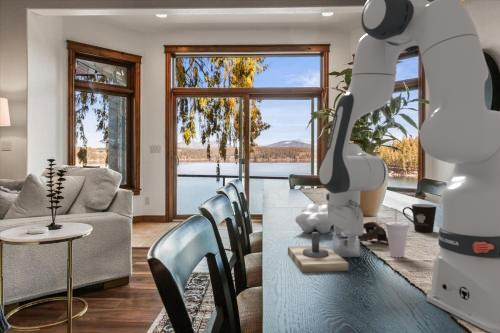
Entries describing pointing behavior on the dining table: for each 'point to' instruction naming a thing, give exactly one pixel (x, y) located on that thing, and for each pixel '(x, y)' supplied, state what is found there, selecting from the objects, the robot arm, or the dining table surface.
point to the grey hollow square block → (341, 247)
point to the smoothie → (397, 237)
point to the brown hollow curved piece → (373, 232)
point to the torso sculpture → (314, 218)
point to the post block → (317, 257)
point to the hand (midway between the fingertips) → (344, 243)
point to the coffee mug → (423, 217)
